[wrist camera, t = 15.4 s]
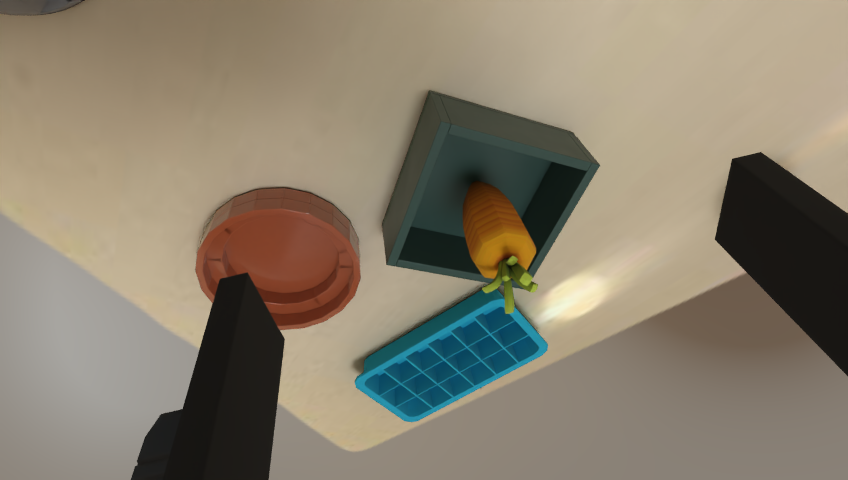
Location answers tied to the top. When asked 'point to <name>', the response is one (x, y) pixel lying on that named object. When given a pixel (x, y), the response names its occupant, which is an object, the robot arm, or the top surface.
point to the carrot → (497, 240)
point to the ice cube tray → (450, 357)
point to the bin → (486, 162)
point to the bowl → (283, 254)
